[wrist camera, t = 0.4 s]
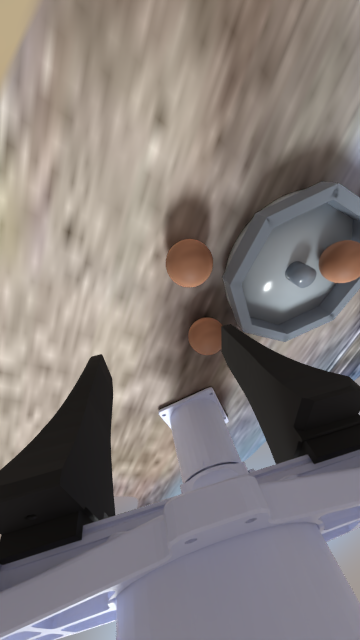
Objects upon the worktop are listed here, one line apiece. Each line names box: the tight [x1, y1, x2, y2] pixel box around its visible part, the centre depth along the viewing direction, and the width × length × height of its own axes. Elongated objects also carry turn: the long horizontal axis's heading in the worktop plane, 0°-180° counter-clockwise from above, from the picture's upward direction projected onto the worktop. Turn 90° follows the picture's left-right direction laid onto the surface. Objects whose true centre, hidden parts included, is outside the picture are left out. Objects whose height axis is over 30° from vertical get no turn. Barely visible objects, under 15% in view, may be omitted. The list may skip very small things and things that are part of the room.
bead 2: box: [188, 317, 223, 355], centre depth 24 cm, size 4×4×4 cm
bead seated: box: [318, 240, 360, 283], centre depth 21 cm, size 4×4×4 cm
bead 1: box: [166, 239, 213, 287], centre depth 19 cm, size 4×4×4 cm
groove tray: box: [222, 181, 360, 342], centre depth 22 cm, size 14×14×3 cm
